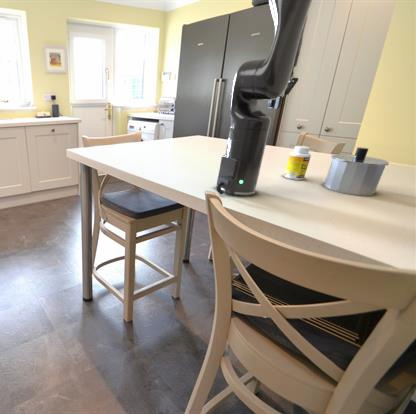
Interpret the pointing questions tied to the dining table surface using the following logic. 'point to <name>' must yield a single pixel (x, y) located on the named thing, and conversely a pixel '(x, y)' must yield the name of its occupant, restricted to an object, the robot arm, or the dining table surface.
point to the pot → (353, 178)
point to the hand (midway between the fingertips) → (273, 108)
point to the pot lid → (360, 158)
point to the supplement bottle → (298, 163)
